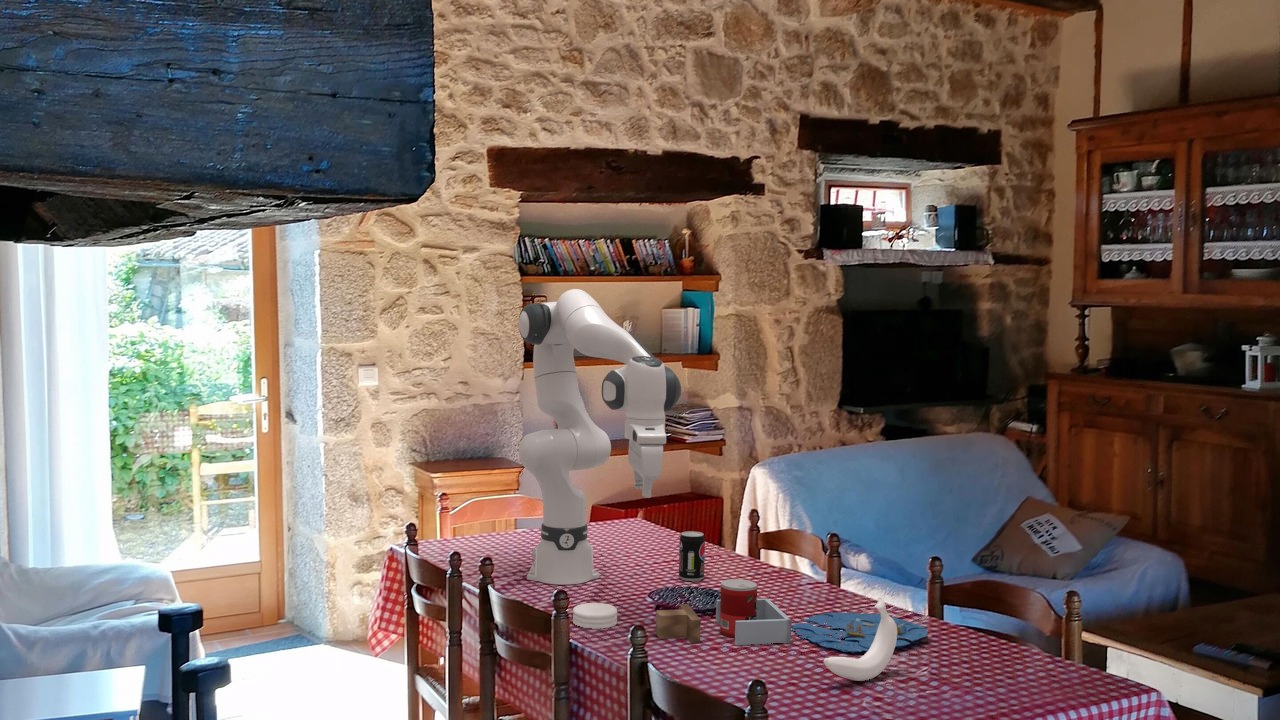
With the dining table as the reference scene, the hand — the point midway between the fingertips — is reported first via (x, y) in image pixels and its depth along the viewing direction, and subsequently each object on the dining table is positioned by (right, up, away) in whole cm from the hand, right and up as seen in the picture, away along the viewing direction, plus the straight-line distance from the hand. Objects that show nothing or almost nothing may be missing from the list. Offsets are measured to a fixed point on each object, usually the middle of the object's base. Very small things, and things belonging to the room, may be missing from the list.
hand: (642, 492), depth 238 cm
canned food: (+21, -31, -3) cm, 37 cm away
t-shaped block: (+6, -30, -5) cm, 31 cm away
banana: (+42, -32, -30) cm, 61 cm away
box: (+24, -30, -2) cm, 39 cm away
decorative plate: (+47, -32, -2) cm, 57 cm away
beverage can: (+13, -28, +43) cm, 53 cm away
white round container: (-11, -30, +3) cm, 32 cm away
